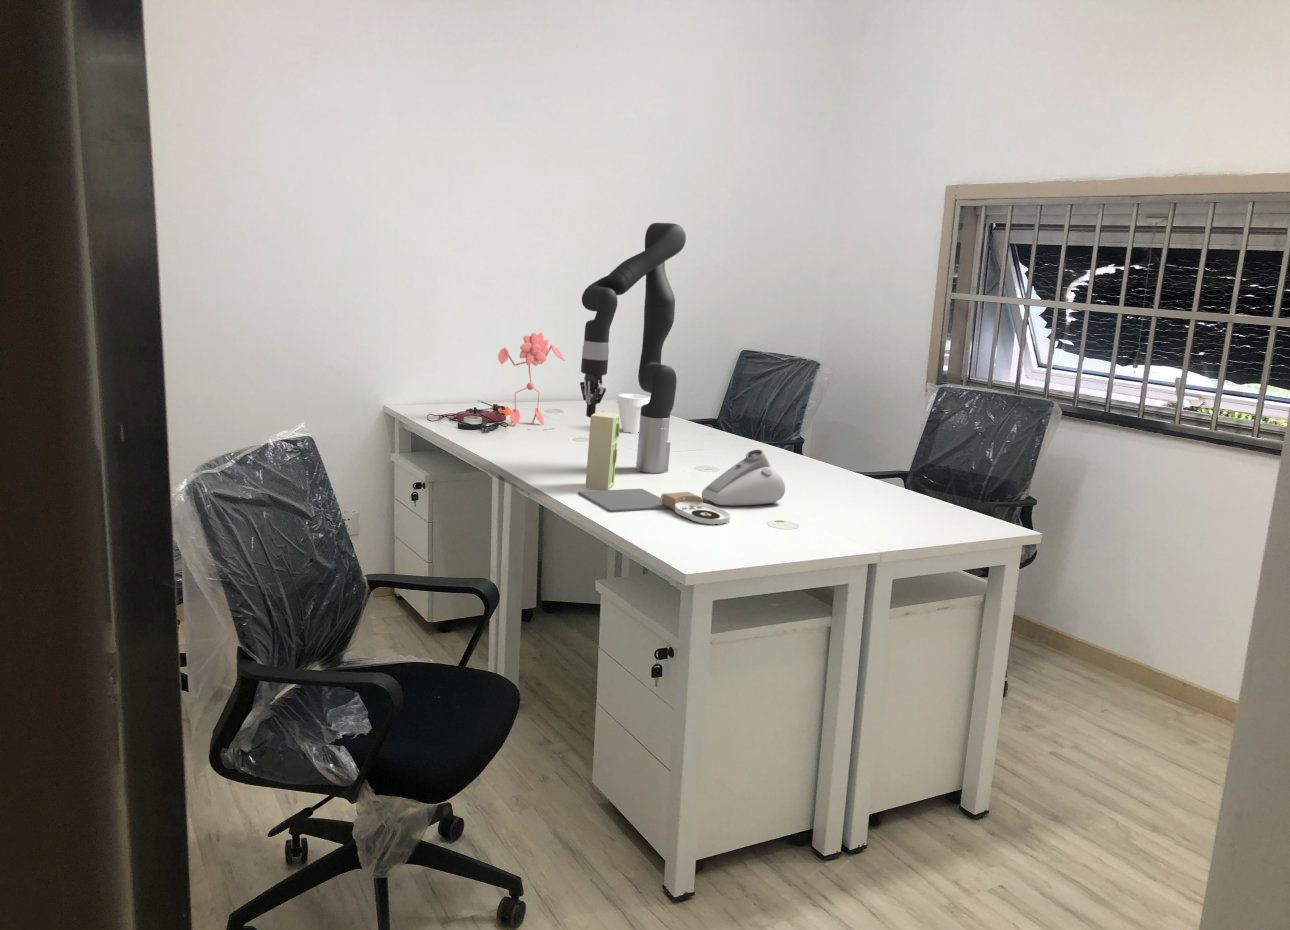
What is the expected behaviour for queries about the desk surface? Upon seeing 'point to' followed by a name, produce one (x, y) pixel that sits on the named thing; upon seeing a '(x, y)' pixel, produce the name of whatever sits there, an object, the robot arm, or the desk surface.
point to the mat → (624, 500)
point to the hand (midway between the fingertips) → (590, 416)
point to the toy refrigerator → (602, 450)
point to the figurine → (533, 353)
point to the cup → (631, 410)
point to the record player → (694, 508)
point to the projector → (747, 483)
